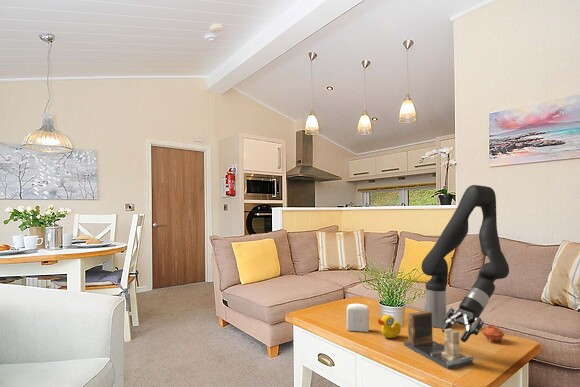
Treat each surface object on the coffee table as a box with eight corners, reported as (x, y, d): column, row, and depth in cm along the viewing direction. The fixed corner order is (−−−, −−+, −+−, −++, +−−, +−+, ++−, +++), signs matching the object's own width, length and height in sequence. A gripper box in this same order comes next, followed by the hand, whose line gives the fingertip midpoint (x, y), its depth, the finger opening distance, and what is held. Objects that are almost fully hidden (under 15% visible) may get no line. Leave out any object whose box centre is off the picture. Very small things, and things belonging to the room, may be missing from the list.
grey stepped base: (404, 345, 143) (404, 338, 144) (426, 341, 148) (426, 334, 148) (448, 369, 122) (448, 362, 122) (473, 364, 126) (473, 356, 126)
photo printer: (368, 329, 163) (368, 303, 163) (369, 332, 158) (369, 305, 159) (346, 328, 164) (346, 302, 165) (346, 331, 160) (346, 304, 161)
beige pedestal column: (441, 356, 129) (441, 329, 130) (451, 354, 131) (451, 327, 132) (452, 361, 125) (451, 333, 125) (462, 359, 127) (461, 331, 127)
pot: (503, 345, 142) (498, 329, 143) (483, 345, 147) (478, 329, 149) (507, 339, 148) (503, 323, 149) (488, 339, 153) (483, 323, 154)
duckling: (381, 341, 148) (381, 318, 148) (374, 337, 153) (374, 314, 153) (403, 338, 151) (403, 315, 152) (396, 334, 157) (395, 311, 157)
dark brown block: (408, 342, 142) (407, 313, 143) (427, 339, 146) (426, 310, 147) (414, 345, 139) (413, 315, 140) (433, 342, 143) (432, 313, 143)
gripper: (454, 292, 139) (432, 324, 135) (485, 301, 126) (463, 337, 122) (464, 303, 141) (443, 336, 137) (496, 314, 128) (474, 350, 123)
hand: (452, 336), depth 129 cm, fingers open, 8 cm apart
